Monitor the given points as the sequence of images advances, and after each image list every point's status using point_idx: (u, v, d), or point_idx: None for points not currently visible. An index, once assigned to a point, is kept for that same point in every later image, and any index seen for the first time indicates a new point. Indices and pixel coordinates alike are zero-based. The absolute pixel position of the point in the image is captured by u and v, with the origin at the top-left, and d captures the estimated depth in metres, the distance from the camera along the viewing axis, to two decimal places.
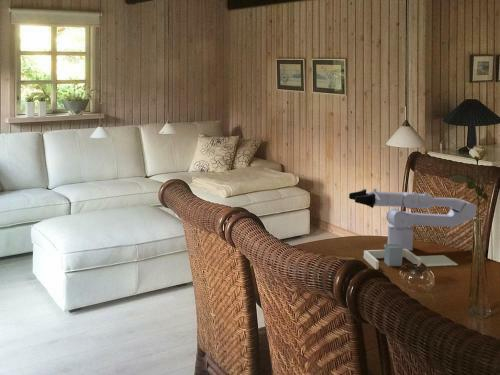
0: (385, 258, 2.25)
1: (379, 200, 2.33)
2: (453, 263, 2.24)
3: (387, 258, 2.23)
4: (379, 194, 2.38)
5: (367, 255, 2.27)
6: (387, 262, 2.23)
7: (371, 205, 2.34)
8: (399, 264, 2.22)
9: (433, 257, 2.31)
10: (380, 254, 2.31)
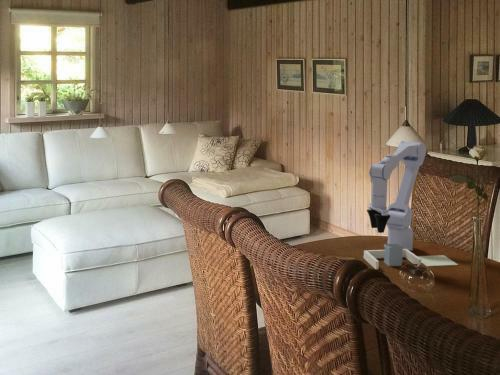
0: (385, 258, 2.25)
1: (383, 212, 2.24)
2: (453, 263, 2.24)
3: (387, 258, 2.23)
4: (375, 204, 2.28)
5: (367, 255, 2.27)
6: (387, 262, 2.23)
7: (387, 217, 2.26)
8: (399, 264, 2.22)
9: (433, 257, 2.31)
10: (380, 254, 2.31)
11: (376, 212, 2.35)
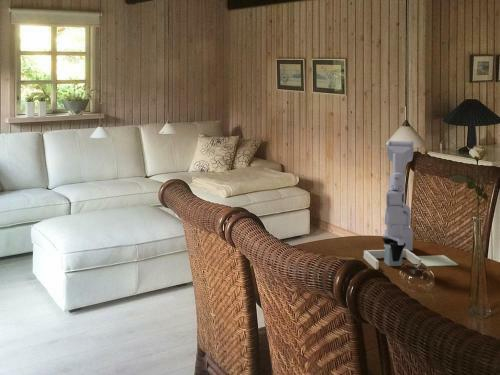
0: (385, 258, 2.25)
1: (399, 241, 2.16)
2: (453, 263, 2.24)
3: (387, 258, 2.23)
4: (390, 233, 2.20)
5: (367, 255, 2.27)
6: (387, 262, 2.23)
7: (403, 246, 2.19)
8: (399, 264, 2.22)
9: (433, 257, 2.31)
10: (380, 254, 2.31)
11: (392, 240, 2.26)
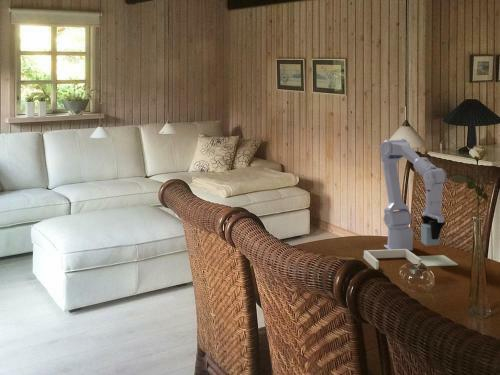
0: (422, 238, 2.26)
1: (439, 219, 2.17)
2: (453, 263, 2.24)
3: (424, 238, 2.25)
4: (430, 211, 2.22)
5: (367, 255, 2.27)
6: (424, 242, 2.25)
7: (442, 224, 2.20)
8: (436, 243, 2.24)
9: (433, 257, 2.31)
10: (380, 254, 2.31)
11: (431, 219, 2.27)
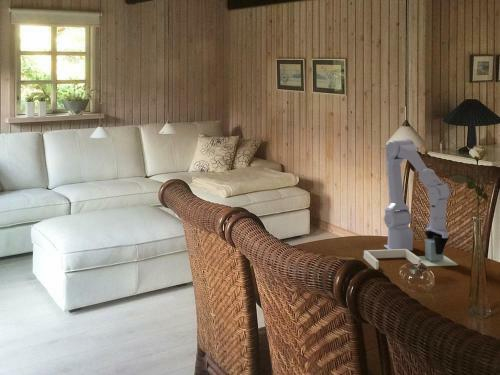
0: (426, 253, 2.28)
1: (444, 234, 2.19)
2: (453, 263, 2.24)
3: (428, 253, 2.26)
4: (434, 226, 2.23)
5: (367, 255, 2.27)
6: (428, 257, 2.26)
7: (446, 239, 2.22)
8: (441, 258, 2.25)
9: None
10: (380, 254, 2.31)
11: (435, 234, 2.29)
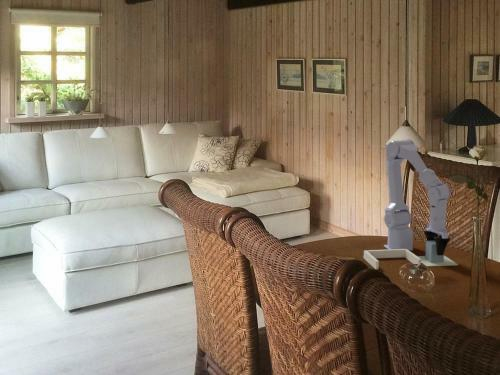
0: (427, 255, 2.28)
1: (444, 235, 2.19)
2: (453, 263, 2.24)
3: (429, 254, 2.26)
4: (434, 227, 2.23)
5: (367, 255, 2.27)
6: (429, 258, 2.26)
7: (448, 240, 2.21)
8: (441, 260, 2.25)
9: None
10: (380, 254, 2.31)
11: (434, 234, 2.30)
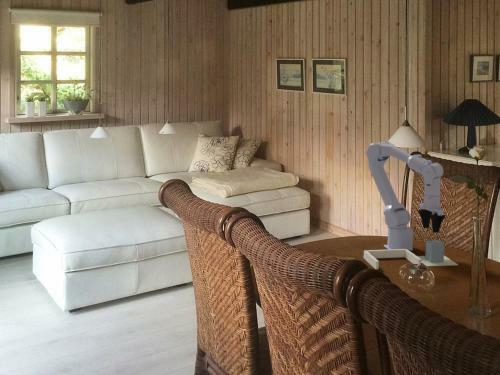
0: (427, 255, 2.28)
1: (439, 212, 2.24)
2: (453, 263, 2.24)
3: (429, 254, 2.26)
4: (429, 204, 2.28)
5: (367, 255, 2.27)
6: (429, 258, 2.26)
7: (443, 217, 2.26)
8: (441, 260, 2.25)
9: None
10: (380, 254, 2.31)
11: (427, 212, 2.35)
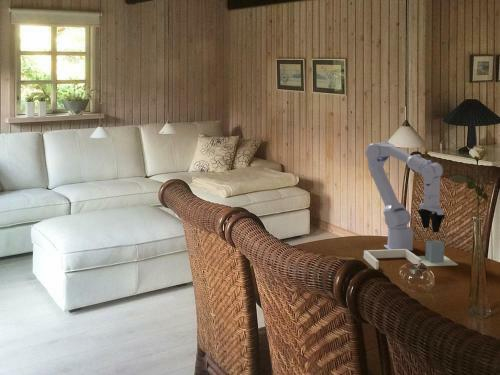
0: (427, 255, 2.28)
1: (439, 211, 2.24)
2: (453, 263, 2.24)
3: (429, 254, 2.26)
4: (428, 204, 2.29)
5: (367, 255, 2.27)
6: (429, 258, 2.26)
7: (443, 217, 2.26)
8: (441, 260, 2.25)
9: None
10: (380, 254, 2.31)
11: (427, 212, 2.35)
